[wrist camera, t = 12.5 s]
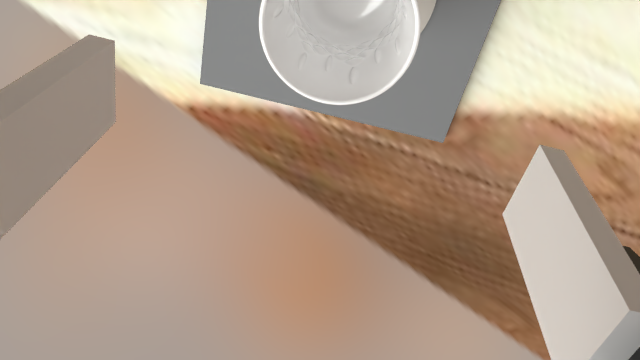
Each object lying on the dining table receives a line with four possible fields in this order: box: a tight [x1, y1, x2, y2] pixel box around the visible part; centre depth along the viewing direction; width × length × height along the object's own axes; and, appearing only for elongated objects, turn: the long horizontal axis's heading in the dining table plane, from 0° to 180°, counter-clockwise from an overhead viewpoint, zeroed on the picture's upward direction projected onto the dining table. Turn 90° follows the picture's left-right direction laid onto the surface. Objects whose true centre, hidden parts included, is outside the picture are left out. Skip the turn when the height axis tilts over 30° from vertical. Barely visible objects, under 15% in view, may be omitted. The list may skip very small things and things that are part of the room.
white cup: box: [259, 0, 421, 105], centre depth 29 cm, size 8×8×10 cm
